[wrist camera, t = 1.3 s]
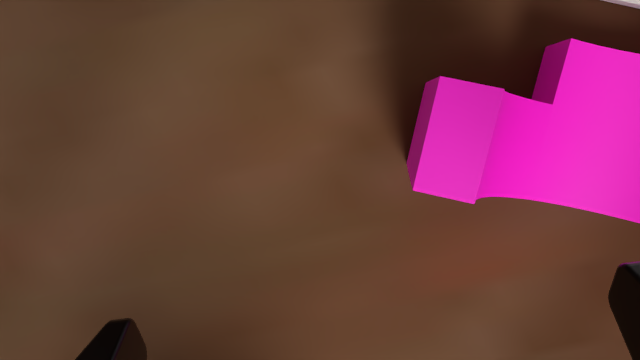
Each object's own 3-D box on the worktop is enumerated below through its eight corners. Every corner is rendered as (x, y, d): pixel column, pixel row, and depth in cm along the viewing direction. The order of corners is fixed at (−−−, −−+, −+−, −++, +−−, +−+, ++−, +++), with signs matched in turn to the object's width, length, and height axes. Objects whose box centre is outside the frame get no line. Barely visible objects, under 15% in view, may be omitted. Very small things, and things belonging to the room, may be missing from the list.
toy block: (794, 95, 22) (998, 93, 15) (743, 236, 23) (908, 301, 16) (438, 27, 23) (459, -6, 16) (406, 162, 25) (412, 190, 17)
